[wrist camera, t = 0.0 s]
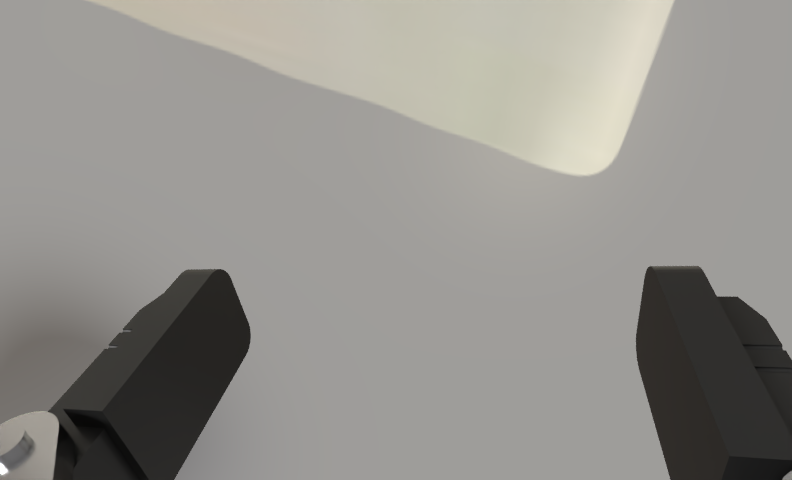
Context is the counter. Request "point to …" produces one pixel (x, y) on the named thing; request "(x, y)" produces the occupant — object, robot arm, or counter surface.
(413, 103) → the counter surface
